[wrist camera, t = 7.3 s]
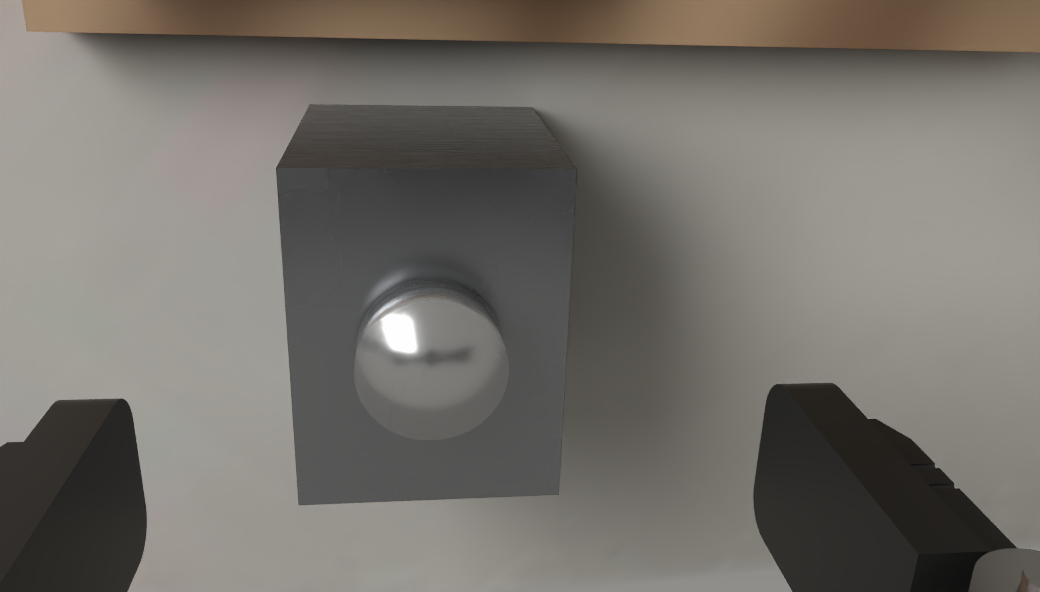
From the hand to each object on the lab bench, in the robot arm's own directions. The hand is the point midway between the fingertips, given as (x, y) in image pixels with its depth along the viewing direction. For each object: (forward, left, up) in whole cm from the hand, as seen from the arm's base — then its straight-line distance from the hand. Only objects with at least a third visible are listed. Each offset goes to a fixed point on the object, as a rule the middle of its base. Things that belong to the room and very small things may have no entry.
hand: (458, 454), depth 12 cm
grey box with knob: (0, 0, -9) cm, 9 cm away
